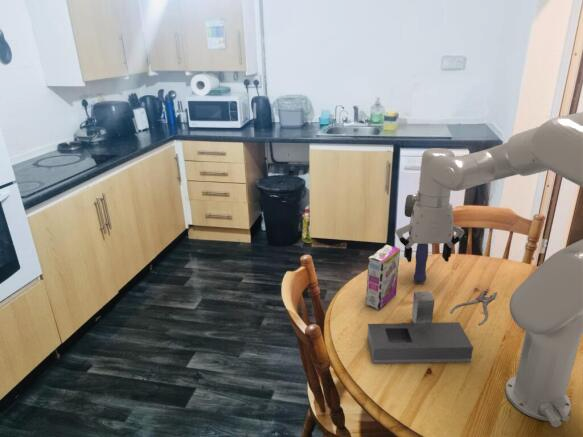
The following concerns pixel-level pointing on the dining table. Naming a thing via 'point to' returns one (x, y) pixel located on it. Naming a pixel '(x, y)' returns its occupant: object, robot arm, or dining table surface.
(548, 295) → the robot arm
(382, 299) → the candy bar box
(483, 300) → the pliers
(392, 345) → the rectangular block
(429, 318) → the steel peg
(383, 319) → the dining table surface
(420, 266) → the rubber mallet
